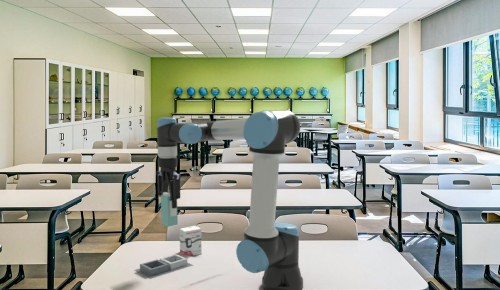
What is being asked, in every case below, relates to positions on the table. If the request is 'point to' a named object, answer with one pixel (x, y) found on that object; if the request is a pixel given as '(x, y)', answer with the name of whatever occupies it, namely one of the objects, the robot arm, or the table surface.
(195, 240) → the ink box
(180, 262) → the panel
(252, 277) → the table surface
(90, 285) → the table surface
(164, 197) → the plug
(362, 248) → the table surface
